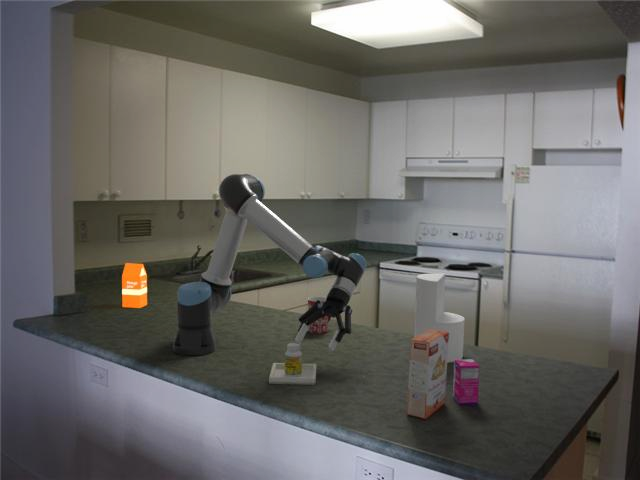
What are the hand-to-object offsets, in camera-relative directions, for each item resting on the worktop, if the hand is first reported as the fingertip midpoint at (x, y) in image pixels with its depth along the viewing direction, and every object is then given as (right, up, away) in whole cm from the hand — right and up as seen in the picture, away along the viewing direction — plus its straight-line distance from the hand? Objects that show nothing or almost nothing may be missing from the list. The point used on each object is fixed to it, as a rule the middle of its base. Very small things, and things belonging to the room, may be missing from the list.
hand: (313, 345), depth 198 cm
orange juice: (-85, +3, +86) cm, 121 cm away
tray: (-6, -8, -7) cm, 13 cm away
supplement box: (+43, -12, -25) cm, 51 cm away
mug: (+3, -3, +48) cm, 48 cm away
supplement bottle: (-6, -8, -7) cm, 13 cm away
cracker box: (+31, -12, -32) cm, 46 cm away
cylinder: (+44, -7, +19) cm, 48 cm away
